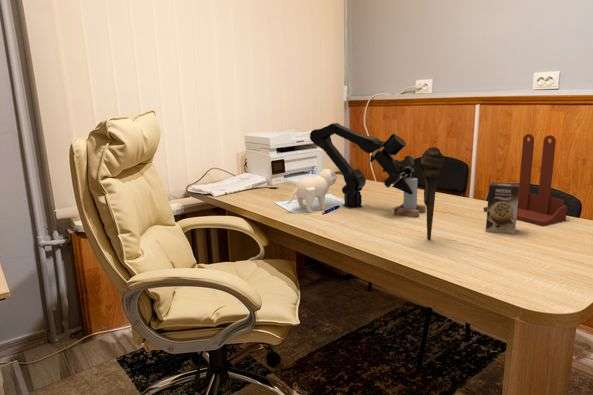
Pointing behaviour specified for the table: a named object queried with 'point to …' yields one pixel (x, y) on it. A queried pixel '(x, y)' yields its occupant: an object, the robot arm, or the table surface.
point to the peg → (411, 200)
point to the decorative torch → (430, 181)
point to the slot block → (409, 211)
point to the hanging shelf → (541, 205)
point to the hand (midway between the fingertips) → (413, 192)
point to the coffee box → (502, 207)
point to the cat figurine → (314, 189)
